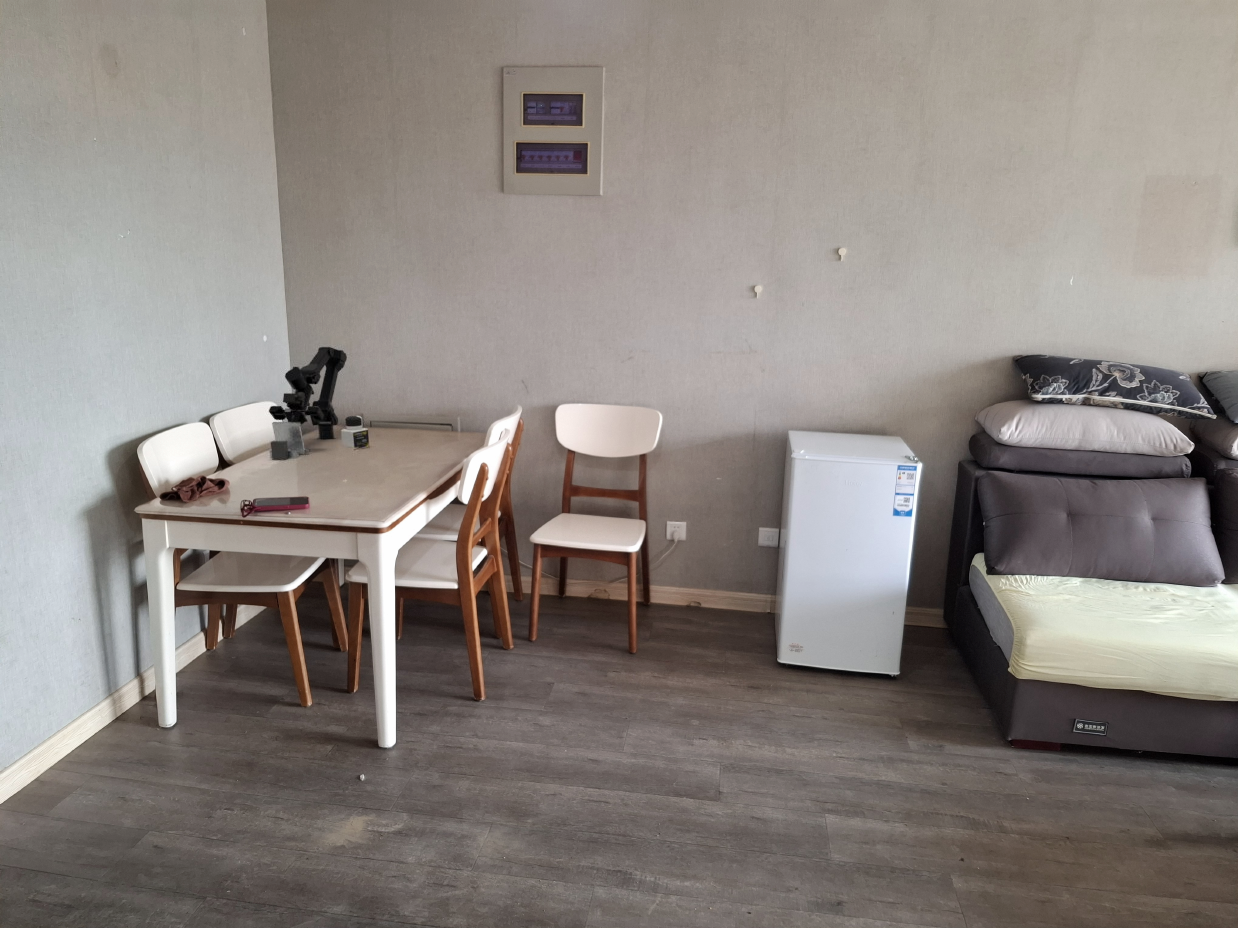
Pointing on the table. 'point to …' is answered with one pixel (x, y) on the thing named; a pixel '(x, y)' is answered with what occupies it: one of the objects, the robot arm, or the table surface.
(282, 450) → the heat sink
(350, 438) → the medicine bottle
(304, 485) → the table surface
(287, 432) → the gray rectangular panel
